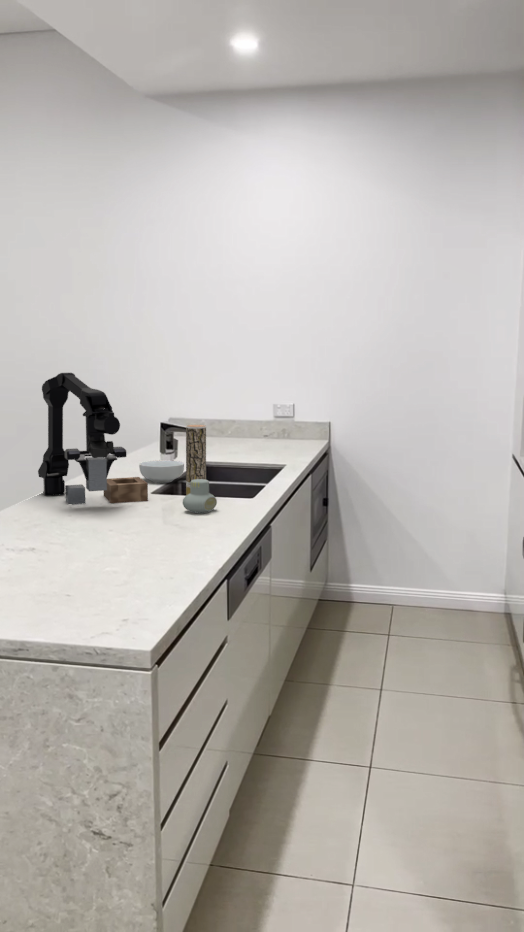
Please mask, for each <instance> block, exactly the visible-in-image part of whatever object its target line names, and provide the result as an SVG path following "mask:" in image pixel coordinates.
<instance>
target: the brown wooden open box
mask: <svg viewBox="0 0 524 932" xmlns="http://www.w3.org/2000/svg"><path fill="white" fill-rule="evenodd" d="M148 490H149V484H148V482H146V481H145V480H144V479H143V478H141V477H140V476H132V477H130V476H129V477H116V478H115V477H114V478H107V490H104V491H103V497H104V498H105V499H106V500H107V501H108V502H109V503H110V504H119V503H120V504H121V503H135V502H148V501H149V492H148Z"/></svg>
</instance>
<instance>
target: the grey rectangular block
mask: <svg viewBox="0 0 524 932" xmlns="http://www.w3.org/2000/svg"><path fill="white" fill-rule="evenodd" d="M85 460H86V466H87V473H88V481H87V480H86V479H85V489H86V490H87V491H88V492H104V490H107V479H108V476H107V468H106V459H105V458H103V457H97V458H93V457H92V456H86V457H85Z"/></svg>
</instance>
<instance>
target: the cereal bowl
mask: <svg viewBox="0 0 524 932" xmlns="http://www.w3.org/2000/svg"><path fill="white" fill-rule="evenodd" d="M138 467H139V472H140V475H141V476H142V477H143V478H144V479H147V480H149V481H151V482H152V483H155V482H157V483H156V484H165V483H172V482H173V481H174V480H176V479H178V478H180V477H181V476H182V475H183V474H184V471H185V462H183V461H180V460H171V459H170V460H169V459H167V460H166V459H162V460H160V459H159V460H156V459H155V460H147V461H142V462H140V463H139V464H138Z"/></svg>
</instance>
